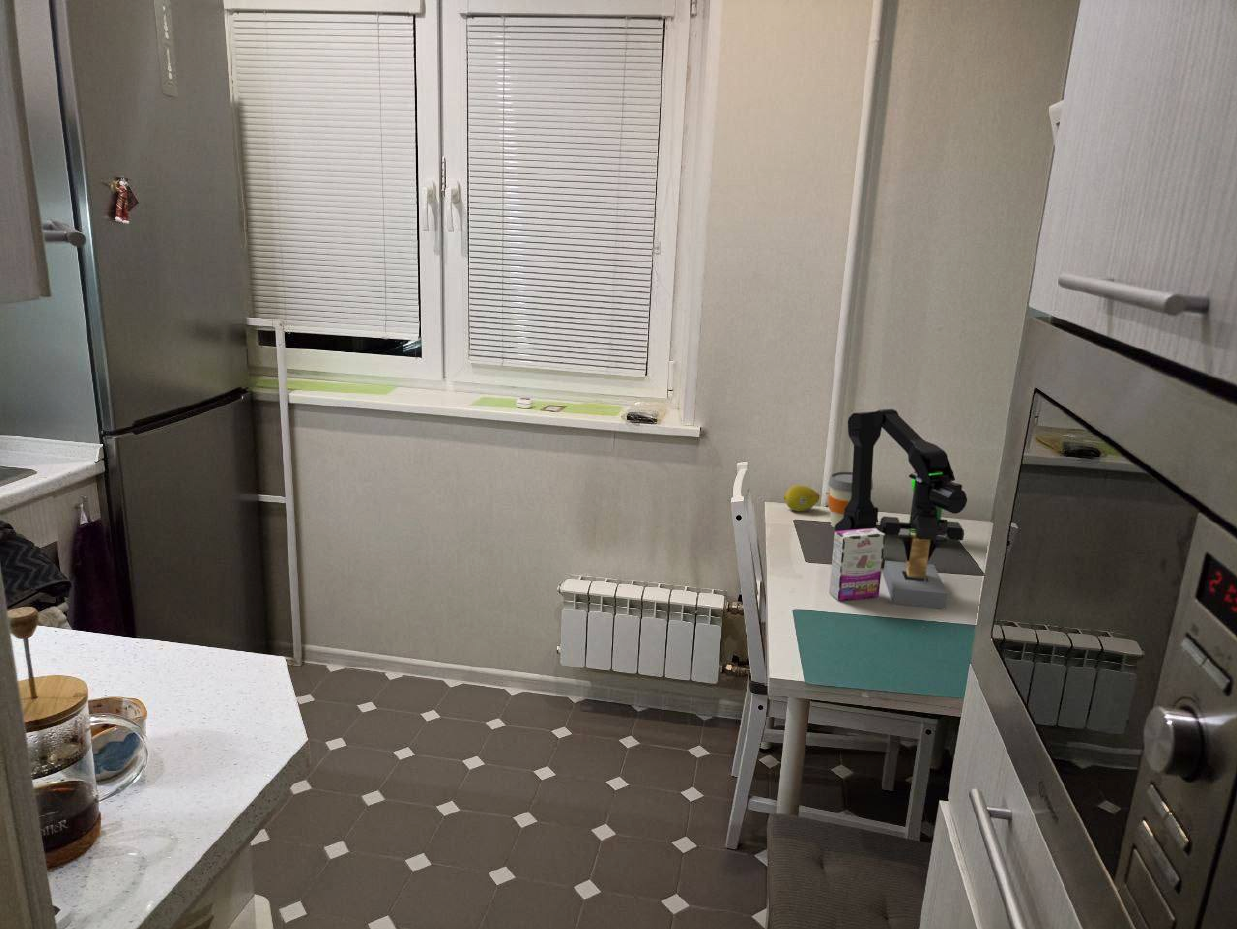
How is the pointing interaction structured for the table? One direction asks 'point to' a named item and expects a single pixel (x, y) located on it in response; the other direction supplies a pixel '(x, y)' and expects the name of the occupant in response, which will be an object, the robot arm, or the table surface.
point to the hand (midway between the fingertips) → (917, 561)
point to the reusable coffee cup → (840, 494)
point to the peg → (917, 557)
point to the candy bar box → (857, 564)
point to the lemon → (801, 498)
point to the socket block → (914, 586)
